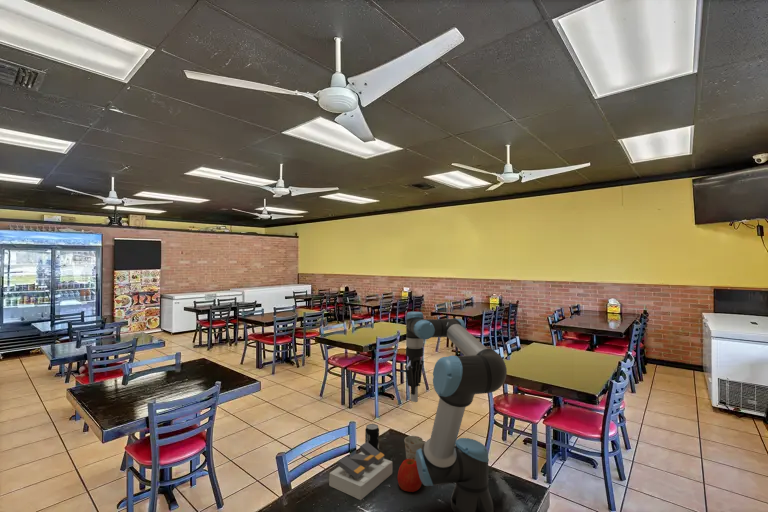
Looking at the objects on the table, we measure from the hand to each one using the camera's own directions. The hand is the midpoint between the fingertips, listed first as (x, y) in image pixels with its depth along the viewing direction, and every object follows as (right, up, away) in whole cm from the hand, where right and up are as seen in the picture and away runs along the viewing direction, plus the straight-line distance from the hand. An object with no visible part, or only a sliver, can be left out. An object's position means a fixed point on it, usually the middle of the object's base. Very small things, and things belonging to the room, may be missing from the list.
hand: (414, 401), depth 159 cm
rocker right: (-19, -21, -3) cm, 28 cm away
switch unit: (-23, -29, -9) cm, 38 cm away
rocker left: (-26, -21, -15) cm, 36 cm away
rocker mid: (-22, -21, -9) cm, 32 cm away
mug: (+2, -30, +6) cm, 30 cm away
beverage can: (-19, -30, +14) cm, 38 cm away
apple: (-3, -29, -14) cm, 32 cm away
